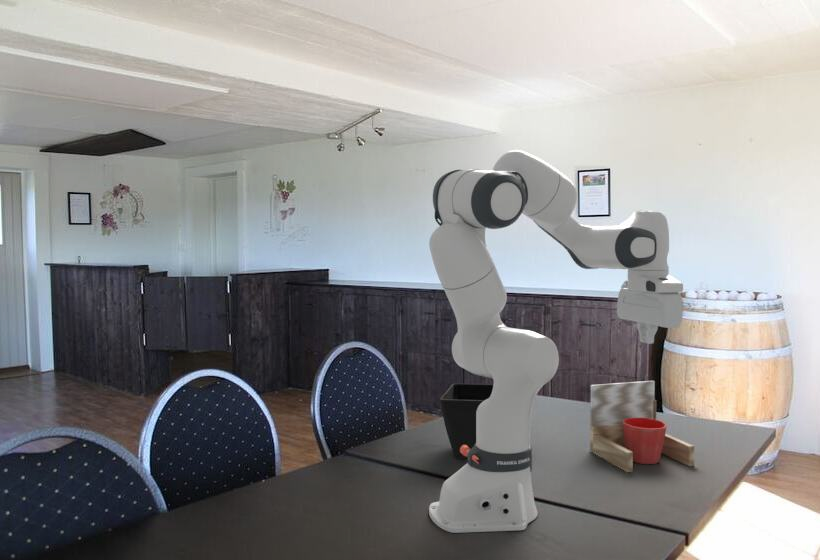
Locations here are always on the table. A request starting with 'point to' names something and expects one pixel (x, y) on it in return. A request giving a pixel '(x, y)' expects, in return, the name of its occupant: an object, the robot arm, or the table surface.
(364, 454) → the table surface
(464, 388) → the flower pot
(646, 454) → the flower pot
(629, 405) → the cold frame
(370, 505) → the table surface
